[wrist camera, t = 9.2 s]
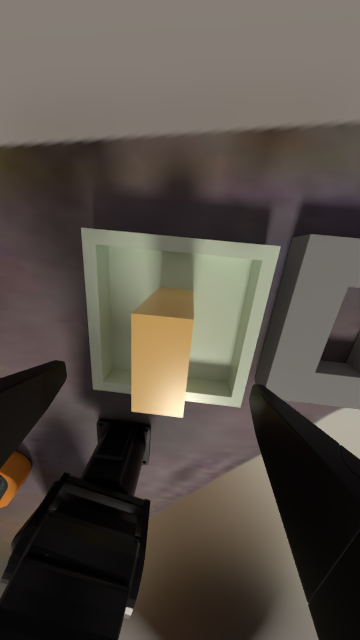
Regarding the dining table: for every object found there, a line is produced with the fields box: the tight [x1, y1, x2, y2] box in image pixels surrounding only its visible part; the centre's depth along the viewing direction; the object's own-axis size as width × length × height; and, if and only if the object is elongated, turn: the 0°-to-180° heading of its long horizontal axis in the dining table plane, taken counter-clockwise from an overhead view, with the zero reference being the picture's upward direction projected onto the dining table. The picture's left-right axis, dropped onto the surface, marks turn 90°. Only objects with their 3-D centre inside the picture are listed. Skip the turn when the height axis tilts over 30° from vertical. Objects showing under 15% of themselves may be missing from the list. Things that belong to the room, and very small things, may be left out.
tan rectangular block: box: [131, 287, 194, 418], centre depth 14 cm, size 6×3×8 cm, turn 175°
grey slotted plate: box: [255, 234, 360, 409], centre depth 16 cm, size 14×12×2 cm
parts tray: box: [81, 228, 281, 407], centre depth 17 cm, size 14×14×3 cm
